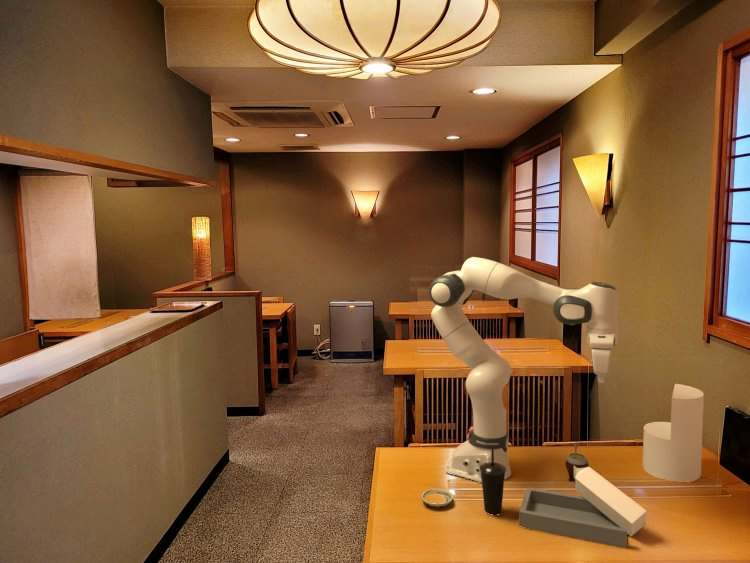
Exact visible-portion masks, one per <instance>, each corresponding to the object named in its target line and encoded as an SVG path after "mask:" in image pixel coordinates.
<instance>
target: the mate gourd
mask: <svg viewBox="0 0 750 563" xmlns="http://www.w3.org/2000/svg"><path fill="white" fill-rule="evenodd" d="M577 449H578V442H575V444H574V452H573V453H570V454H568V455H567V457H566V459H565V467H566V468H565V469H566V471H567V475H568V482H574V480H575V479H574V466H575V467H576V468H585V467H589V461H588V458H587V457H586V456H585V455H584V454H581V453H577V452H578V450H577Z"/></svg>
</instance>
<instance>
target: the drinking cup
mask: <svg viewBox="0 0 750 563" xmlns="http://www.w3.org/2000/svg"><path fill="white" fill-rule="evenodd" d="M491 459H492V462H488V463H483V464H481V465H480V471H481V479H482V483H481V487H482V495H483V506H484V512H485V511H486V512H487V513H489V514H493V515H497V514H500V513H501V514H502V508H503V497H504V496H503V495H504V485H505V479H504V477H505V472H506V468H505V466H503V465H502V464H499V463H495V462H494V447H491ZM501 514H500V515H501ZM497 516H498V515H497Z"/></svg>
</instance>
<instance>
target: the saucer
mask: <svg viewBox="0 0 750 563" xmlns="http://www.w3.org/2000/svg"><path fill="white" fill-rule="evenodd" d="M433 493H436V494H437V493H438V494H440V495H443V496H444V497H445V498H446V499H447V500H446V503H440V504H436V503H430V502H428V501H426V500H425V497H426V496H427V495H429V494H433ZM421 494H422V495H421V499H422V502H424V503H425V504H427V505H428V504H429V506H431V507H433V506H438V507H437V508H440V507H439V506H443V507H445V506H447V505H449V504H450V503H451V502H452V501H453V499H454V496H453V494H452V493H451V492H449V491H448V490H446V489H442V488H431V489H428V490H425V491H424V492H422V493H421Z"/></svg>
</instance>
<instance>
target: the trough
mask: <svg viewBox="0 0 750 563" xmlns="http://www.w3.org/2000/svg"><path fill="white" fill-rule="evenodd" d="M523 495H524V496H523V499H522V502H521V505H520V508H519V511H518V514H519V515H518V516H519V517H518V524H519V525H518V526H522V527H526V528H525V529H527V528H530V529H529V530H532V529H535V530H534V531H537V530H539V531H538V532H542V531H543V532H544V533H547V532H548V533H547V534H553V535H557V536H564V537H569V538H574V539H579V540H584V541H590V542H594V543H600V544H602V545H603V544H604V545H610V546H614V547H618V548H625V549H627V548H628V546H627V542H628V541H627V540H628V538H627V537H628V536H627V535H628V533H627V529H625V528H620V527H619V526H618V525H617V524H616V523H614V522H613V521H612V520H611V519H610V518H608V517H607V516H606V515H605V514H603V513H602V512H601V511H600V510H599V509H597V508H596V507H595V506H594V505H593V504H591V503H590V502H589V501H588V500H587V499H585V498H584V497H583V496H582V495H581V496H580V495H575V494H569V493H562V492H556V491H551V490H546V489H539V488H533V487H528V486H527V487H526V488H525V492H524V494H523ZM522 527H521V528H522Z"/></svg>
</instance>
